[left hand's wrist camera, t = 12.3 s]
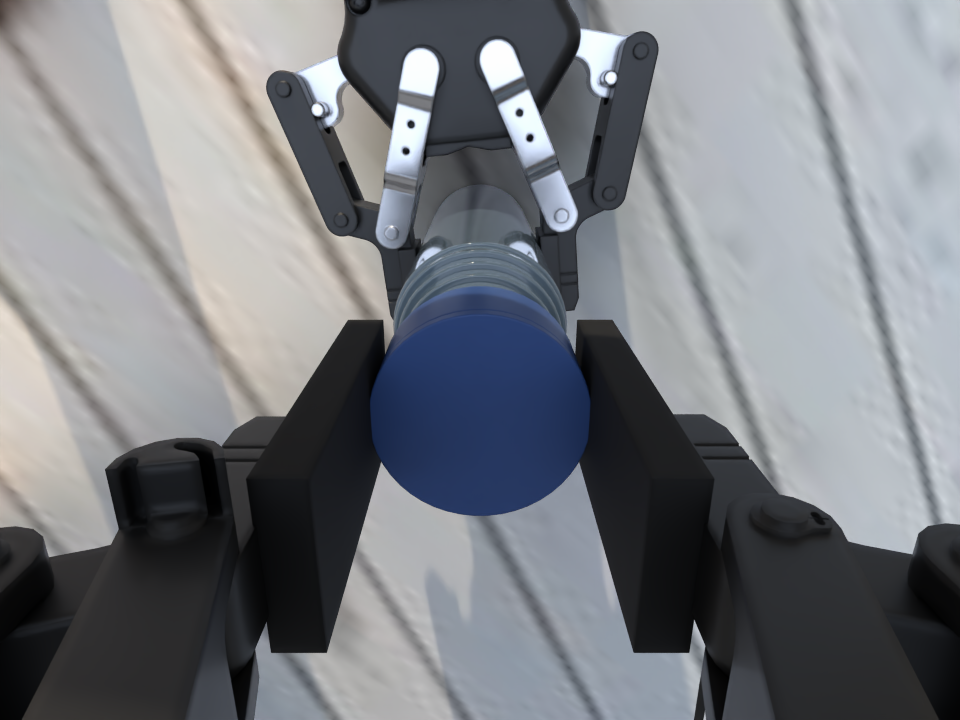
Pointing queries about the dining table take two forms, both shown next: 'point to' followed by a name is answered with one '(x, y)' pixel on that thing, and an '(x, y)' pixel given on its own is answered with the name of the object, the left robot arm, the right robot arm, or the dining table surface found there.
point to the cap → (480, 403)
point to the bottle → (480, 253)
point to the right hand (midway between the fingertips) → (487, 325)
